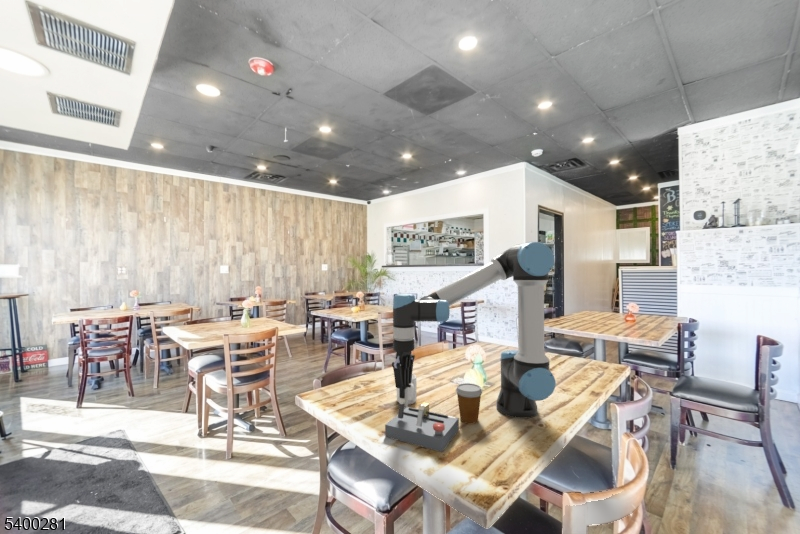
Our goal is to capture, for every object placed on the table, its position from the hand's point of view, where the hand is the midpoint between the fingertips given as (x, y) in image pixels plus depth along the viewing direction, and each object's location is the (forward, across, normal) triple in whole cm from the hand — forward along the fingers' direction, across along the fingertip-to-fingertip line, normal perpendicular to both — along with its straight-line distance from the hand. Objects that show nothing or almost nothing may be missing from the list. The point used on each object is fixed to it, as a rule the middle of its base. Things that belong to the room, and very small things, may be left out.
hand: (403, 406), depth 116 cm
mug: (+8, -21, -9) cm, 24 cm away
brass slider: (+4, -5, +6) cm, 8 cm away
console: (+8, 0, +7) cm, 11 cm away
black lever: (+4, +3, 0) cm, 5 cm away
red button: (+4, +5, +15) cm, 17 cm away
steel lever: (+4, +5, +8) cm, 11 cm away
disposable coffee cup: (+8, -17, +18) cm, 26 cm away
